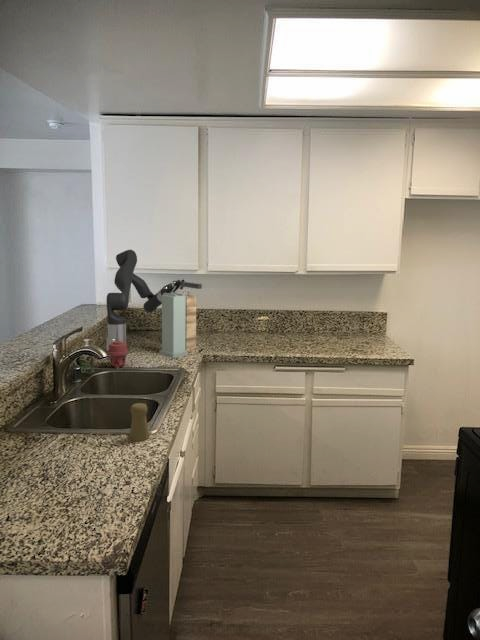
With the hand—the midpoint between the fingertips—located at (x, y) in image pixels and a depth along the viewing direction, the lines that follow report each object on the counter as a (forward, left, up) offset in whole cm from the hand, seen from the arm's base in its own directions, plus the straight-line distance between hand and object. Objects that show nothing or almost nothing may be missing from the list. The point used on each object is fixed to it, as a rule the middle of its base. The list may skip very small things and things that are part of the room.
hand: (181, 281), depth 272 cm
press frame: (-15, -11, -38) cm, 42 cm away
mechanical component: (-51, -14, -38) cm, 65 cm away
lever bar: (0, -4, -3) cm, 5 cm away
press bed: (0, -3, -38) cm, 38 cm away
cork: (-91, -91, -38) cm, 134 cm away
